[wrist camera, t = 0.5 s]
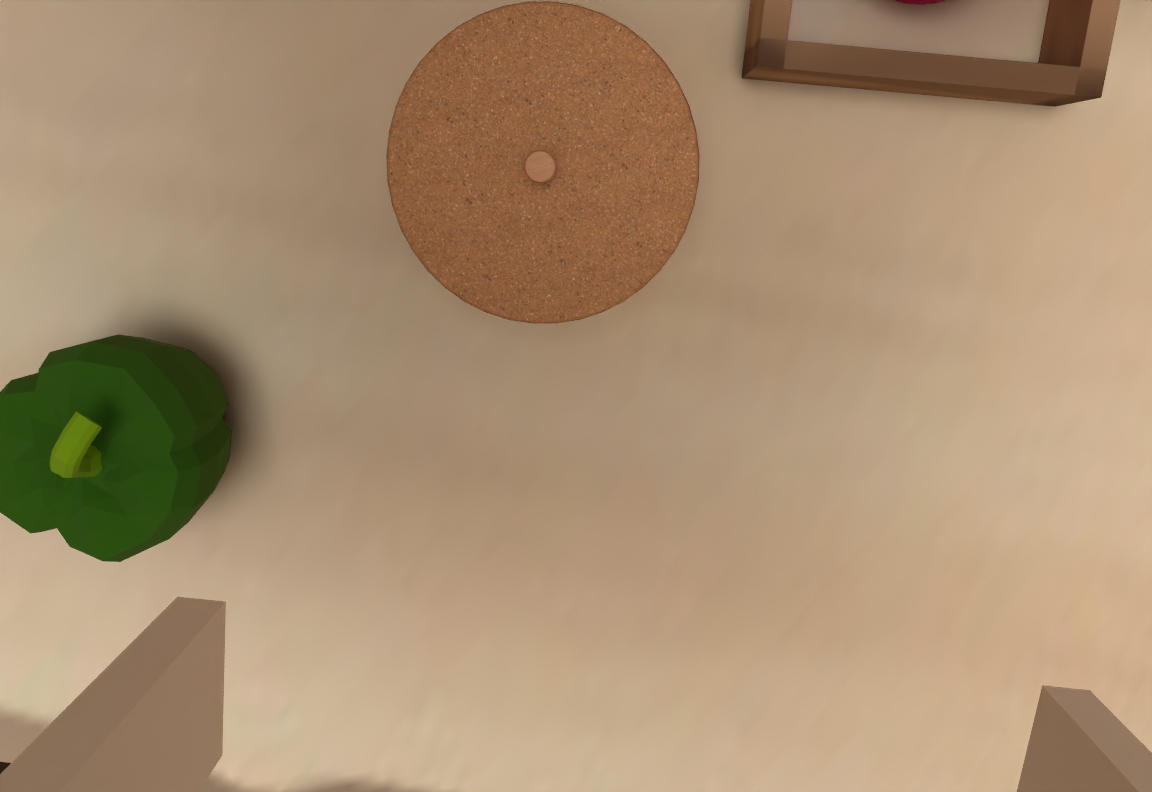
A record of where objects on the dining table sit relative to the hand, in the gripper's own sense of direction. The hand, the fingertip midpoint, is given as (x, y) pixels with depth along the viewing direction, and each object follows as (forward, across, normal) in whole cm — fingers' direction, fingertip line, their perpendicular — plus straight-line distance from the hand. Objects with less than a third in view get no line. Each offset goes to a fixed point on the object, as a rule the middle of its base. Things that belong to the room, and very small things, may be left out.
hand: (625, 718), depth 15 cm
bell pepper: (+27, -19, -4) cm, 33 cm away
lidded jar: (+27, -3, +8) cm, 28 cm away
